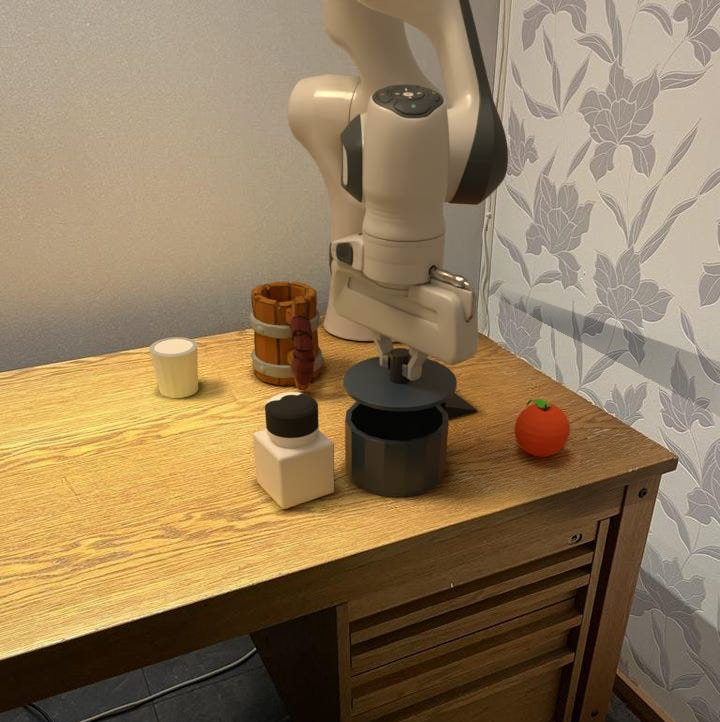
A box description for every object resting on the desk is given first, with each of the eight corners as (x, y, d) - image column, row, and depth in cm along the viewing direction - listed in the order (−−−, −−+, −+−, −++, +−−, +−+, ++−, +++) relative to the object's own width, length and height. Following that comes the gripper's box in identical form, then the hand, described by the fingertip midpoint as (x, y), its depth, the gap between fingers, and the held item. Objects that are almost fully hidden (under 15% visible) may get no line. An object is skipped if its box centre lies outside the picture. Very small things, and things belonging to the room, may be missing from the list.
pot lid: (400, 353, 102) (401, 319, 100) (479, 390, 94) (483, 353, 91) (319, 386, 95) (318, 350, 92) (398, 429, 87) (399, 390, 84)
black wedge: (401, 432, 108) (402, 402, 106) (376, 409, 114) (376, 380, 111) (477, 412, 113) (480, 382, 110) (450, 391, 118) (452, 362, 116)
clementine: (498, 440, 107) (504, 392, 103) (544, 432, 108) (552, 385, 105) (527, 471, 100) (534, 421, 96) (575, 461, 102) (584, 413, 98)
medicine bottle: (335, 493, 96) (334, 404, 89) (282, 511, 93) (277, 421, 86) (306, 465, 101) (303, 380, 94) (255, 482, 98) (248, 395, 91)
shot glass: (197, 400, 116) (192, 356, 112) (150, 399, 116) (143, 355, 112) (206, 379, 121) (201, 336, 117) (161, 378, 121) (155, 335, 118)
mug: (310, 351, 130) (307, 261, 122) (343, 396, 117) (342, 297, 109) (245, 361, 127) (237, 268, 118) (272, 407, 114) (265, 307, 106)
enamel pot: (396, 434, 108) (398, 384, 104) (464, 471, 100) (469, 419, 96) (325, 466, 101) (324, 414, 97) (393, 509, 93) (395, 455, 89)
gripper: (497, 274, 81) (485, 394, 89) (362, 228, 94) (362, 338, 101) (455, 289, 77) (446, 413, 85) (321, 240, 90) (324, 352, 98)
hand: (399, 372), depth 93 cm, fingers closed on pot lid, 2 cm apart
